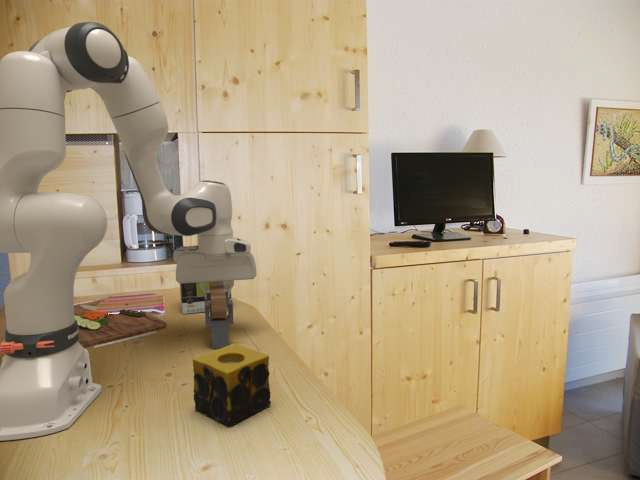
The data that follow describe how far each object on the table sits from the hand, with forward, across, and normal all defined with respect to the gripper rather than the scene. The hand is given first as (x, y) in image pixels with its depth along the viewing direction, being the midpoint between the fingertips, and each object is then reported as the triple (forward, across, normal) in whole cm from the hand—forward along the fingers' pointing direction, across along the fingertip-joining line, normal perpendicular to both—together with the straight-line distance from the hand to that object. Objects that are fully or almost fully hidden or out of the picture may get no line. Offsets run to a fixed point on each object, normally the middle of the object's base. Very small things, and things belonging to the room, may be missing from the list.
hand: (217, 297), depth 125 cm
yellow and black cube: (+10, +1, -40) cm, 42 cm away
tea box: (+11, -3, +28) cm, 30 cm away
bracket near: (+10, 0, -7) cm, 13 cm away
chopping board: (+11, -34, +22) cm, 42 cm away
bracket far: (+10, 0, +7) cm, 12 cm away
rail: (+2, 0, 0) cm, 2 cm away
